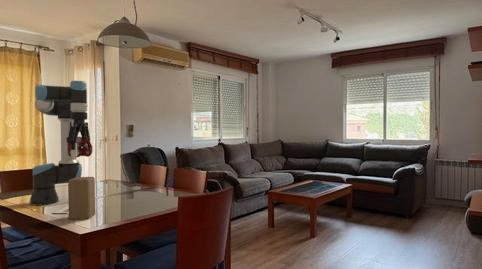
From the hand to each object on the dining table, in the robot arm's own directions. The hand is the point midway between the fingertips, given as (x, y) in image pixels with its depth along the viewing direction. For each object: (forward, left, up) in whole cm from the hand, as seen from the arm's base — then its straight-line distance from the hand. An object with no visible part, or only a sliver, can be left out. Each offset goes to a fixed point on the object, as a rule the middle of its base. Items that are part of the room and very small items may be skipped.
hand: (79, 155), depth 170 cm
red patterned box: (0, 0, -1) cm, 1 cm away
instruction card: (-13, +16, -31) cm, 38 cm away
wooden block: (0, 0, -32) cm, 32 cm away
